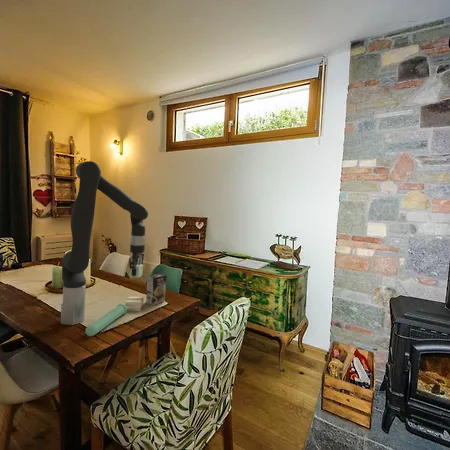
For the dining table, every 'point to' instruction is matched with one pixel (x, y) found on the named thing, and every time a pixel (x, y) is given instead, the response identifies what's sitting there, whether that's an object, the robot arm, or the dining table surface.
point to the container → (105, 320)
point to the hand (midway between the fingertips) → (136, 274)
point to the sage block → (137, 271)
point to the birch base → (134, 303)
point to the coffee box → (156, 289)
